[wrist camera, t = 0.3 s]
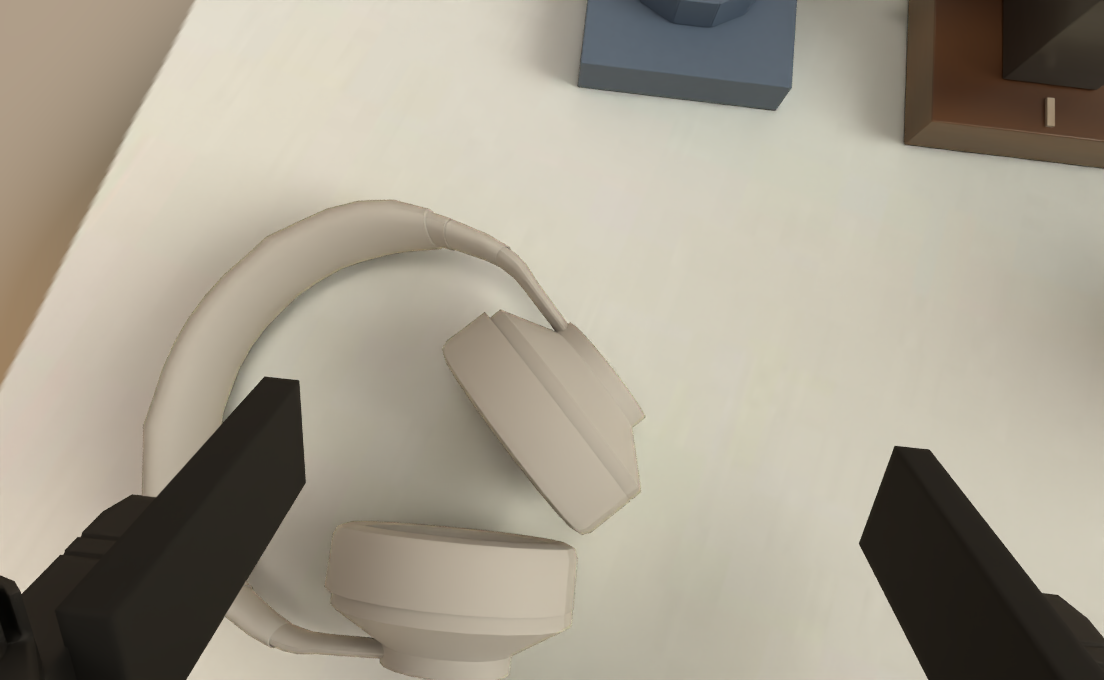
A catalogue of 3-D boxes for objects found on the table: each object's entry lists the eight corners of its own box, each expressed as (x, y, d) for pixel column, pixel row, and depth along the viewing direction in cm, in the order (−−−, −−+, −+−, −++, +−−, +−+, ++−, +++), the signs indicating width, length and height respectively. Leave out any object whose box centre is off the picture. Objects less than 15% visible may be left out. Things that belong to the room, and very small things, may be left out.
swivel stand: (1142, 173, 35) (1191, 150, 32) (881, 142, 35) (910, 116, 32) (1135, -74, 37) (1181, -114, 35) (891, -104, 37) (918, -146, 34)
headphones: (703, 369, 32) (347, 188, 36) (729, 327, 24) (274, 103, 28) (504, 751, 29) (141, 510, 33) (463, 838, 22) (-2, 512, 25)
